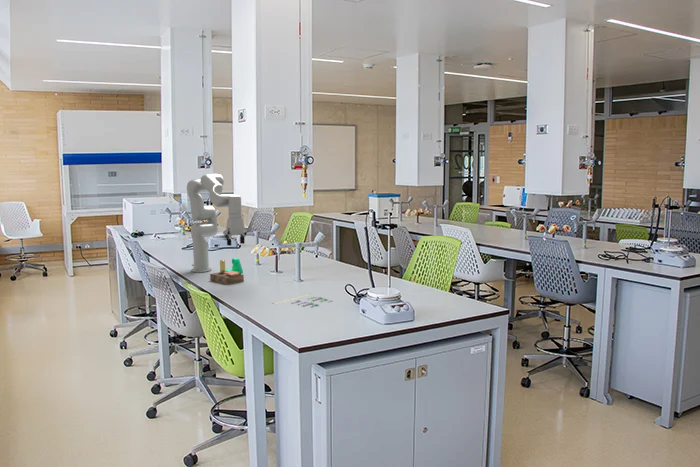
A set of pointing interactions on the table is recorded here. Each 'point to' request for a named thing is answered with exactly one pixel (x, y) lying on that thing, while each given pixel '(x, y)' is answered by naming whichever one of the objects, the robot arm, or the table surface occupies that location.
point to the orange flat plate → (232, 273)
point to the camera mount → (236, 266)
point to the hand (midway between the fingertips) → (235, 244)
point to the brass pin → (222, 266)
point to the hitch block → (226, 278)
